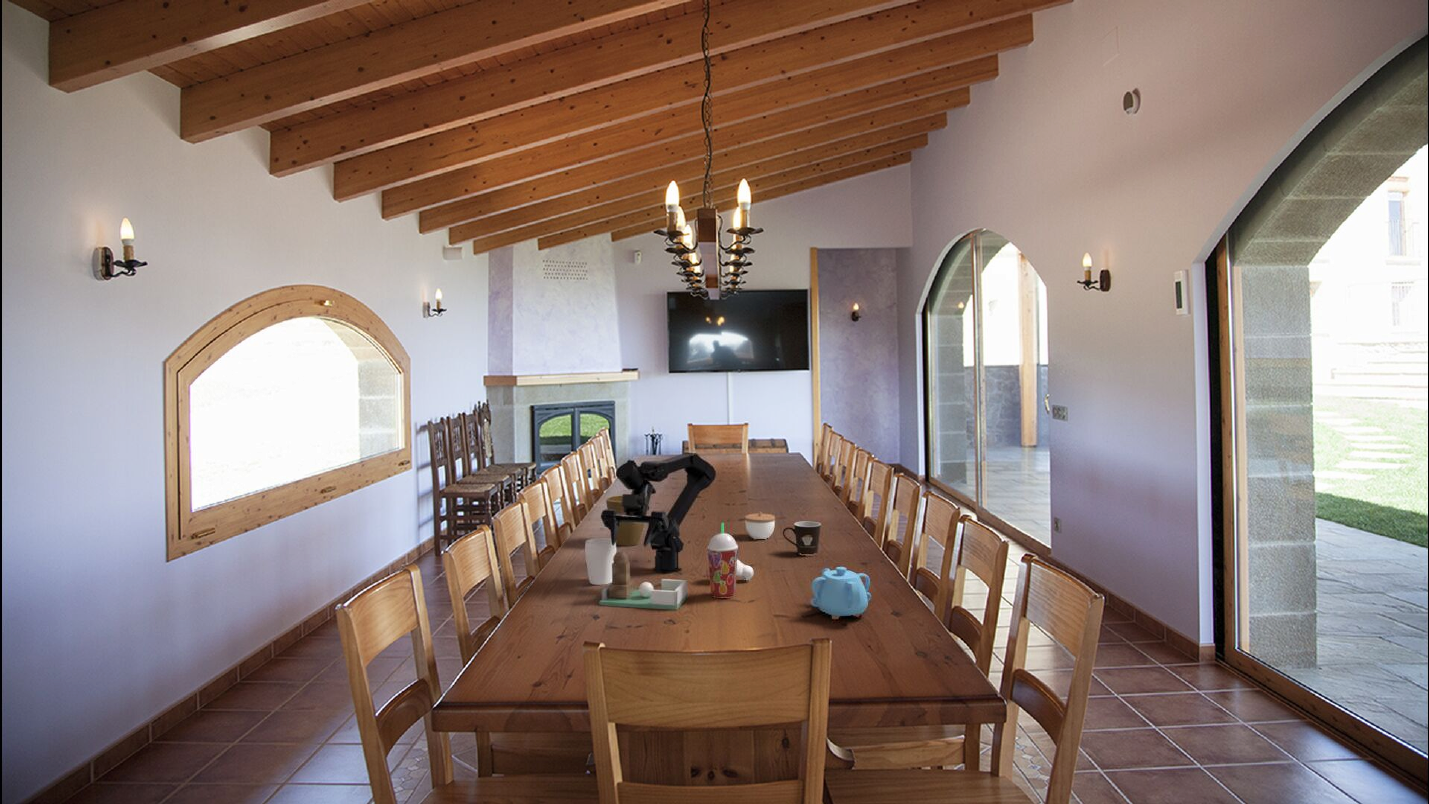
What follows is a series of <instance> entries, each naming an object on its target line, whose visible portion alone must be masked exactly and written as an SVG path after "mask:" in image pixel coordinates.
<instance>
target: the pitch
mask: <svg viewBox="0 0 1429 804" xmlns="http://www.w3.org/2000/svg"><path fill="white" fill-rule="evenodd" d="M611 583H612V582H611ZM611 583H609V584H606V586H605V587H603V589H602V590H601V600H599V606H606V607H608V606H609V607H622V608H639V609H640V608H641V609H652V610H667V611H668V610H670V611H677V610H678V609H679V608H680V606H681V605H682V604H683V603H684V602H685V601H686V599H687V598H688V597H689V593H688V580H686V579H685V580H684V579H668V578H662V579H661V589H654V590H651V596H650V597H642V596H641V595H640V593H639V589H634V592H633V593H632V594H631V595H630V596H629V597H628V598H611V597H609V585H610V584H611Z"/></svg>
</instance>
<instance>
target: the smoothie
mask: <svg viewBox="0 0 1429 804" xmlns="http://www.w3.org/2000/svg"><path fill="white" fill-rule="evenodd" d="M738 549H739V545H738V544H737V541H736V540H735V538H734V537H733V536H732V535H730V534H728V533H725V523H724V522H721V532H720V533H717V534H715V535H714V536H712V537H711V539H710V540H709V544H708V545H707V557H708V571H709V584H710V586H709V587H710V593H712V597H714V596H715V597H731V596H733V594H734V595H735V592H736V589H737V588H736V586H737V577H736V572H737V559H738V553H739V551H738ZM715 597H714V598H715ZM733 597H734V596H733ZM731 598H732V597H731Z"/></svg>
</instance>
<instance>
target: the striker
mask: <svg viewBox="0 0 1429 804" xmlns="http://www.w3.org/2000/svg"><path fill="white" fill-rule="evenodd" d="M613 561H614V563H612V583H611V584H610V583H609V584H610V585H609V584H608V585H609V597H611V598H628V597H629V596H630V595H631V594H632V593H633V592H634V590H635V589H634V579H633V580H632V579H631V569H630V566H631V565H630V563H631V562H630V561H629V556H628V554H627V553H626V552H624V551H618V552H617V551H616V554H615V555H614V557H613Z"/></svg>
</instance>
